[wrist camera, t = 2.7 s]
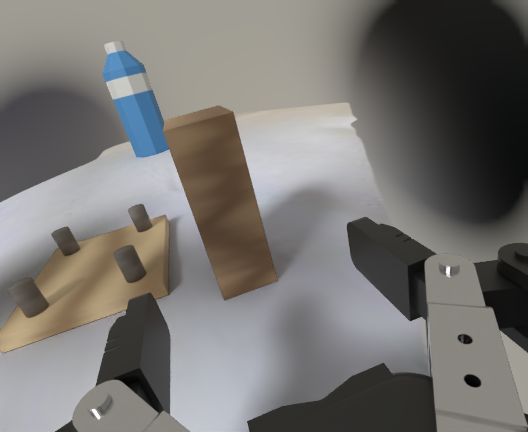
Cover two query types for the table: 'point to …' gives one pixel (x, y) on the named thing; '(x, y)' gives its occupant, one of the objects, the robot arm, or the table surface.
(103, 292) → the peg stand
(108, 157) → the table surface
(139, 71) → the water bottle
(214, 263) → the brown wooden block
